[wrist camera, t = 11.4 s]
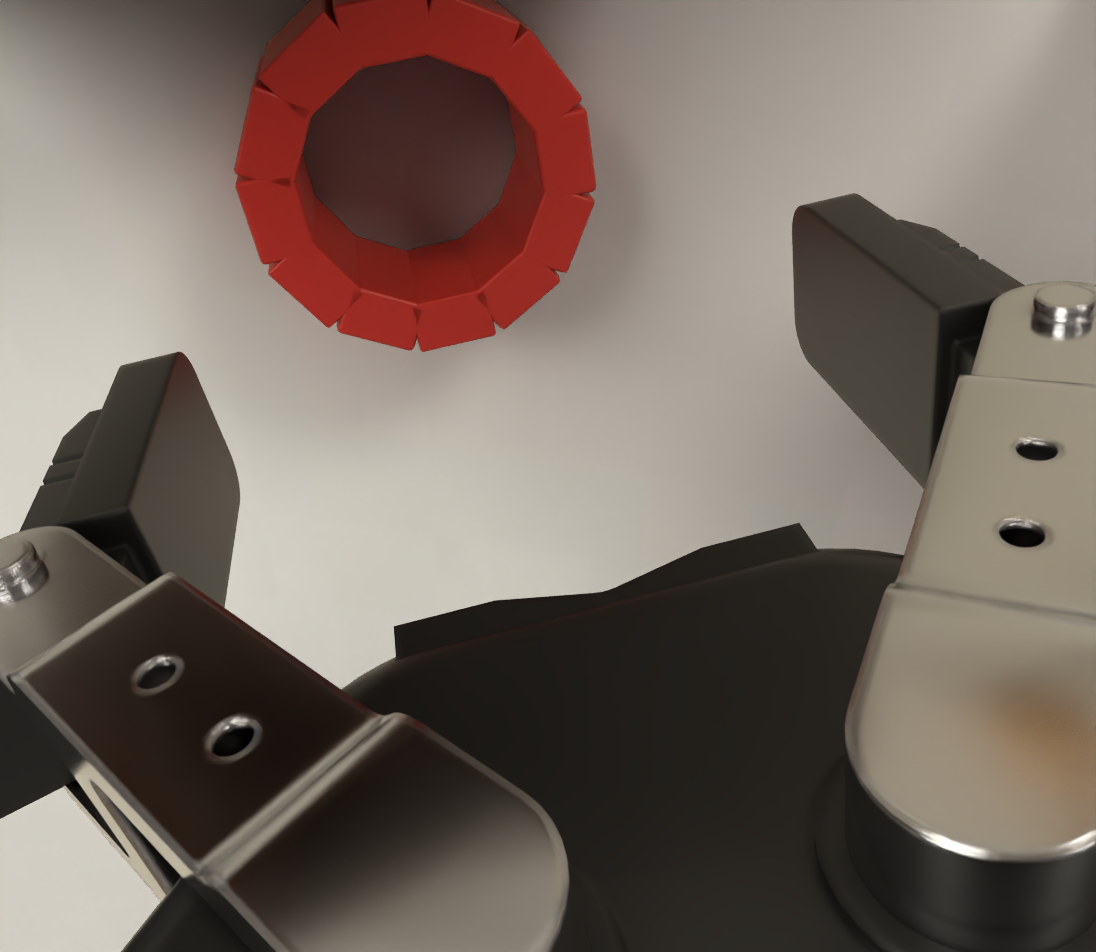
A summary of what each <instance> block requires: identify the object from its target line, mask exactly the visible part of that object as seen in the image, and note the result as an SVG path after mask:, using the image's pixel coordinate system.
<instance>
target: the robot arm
mask: <svg viewBox="0 0 1096 952" xmlns="http://www.w3.org/2000/svg"><path fill="white" fill-rule="evenodd" d="M792 243H793V276H794V308H795V325H796V331H797V336H798V340H799V343H800V346H801V349H802V351H803V353H804V355H805V357H806V359H807V361H808V362H809V363H810V364H811V366H812V367H813V368H814V369H815V370H816V371H817V372H818V373H819V374H820V375H821V377H822V378H823V379H824V380H825V381H826V382H827V383H828V384H829V385H830V386H831V387H832V389H833V390H834V391H835V392H836V393H837V394H838V395H839V396H840V397H841V398H842V400H843V401H844V402H845V403H846V404H847V405H848V406H849V407H850V408H851V409H852V410H853V412H854V413H855V414H856V415H857V416H858V417H859V418H860V419H861V420H862V421H863V423H864V424H865V425H866V426H867V427H868V428H869V429H870V430H871V431H872V432H873V433H874V435H875V436H876V437H877V438H878V439H879V440H880V441H881V442H882V443H883V444H884V445H885V447H886V448H887V449H888V450H889V451H890V452H891V453H892V454H893V455H894V456H895V458H896V459H897V460H898V461H899V462H900V463H901V464H902V465H903V466H904V467H905V468H906V470H907V471H908V472H909V473H910V474H911V475H912V476H913V477H914V478H915V479H916V481H917V482H918V483H919V484H920V485H921V486H922V487H923V488H924V492H923V495H922V499H921V502H920V505H919V508H918V512H917V515H916V518H915V522H914V525H913V528H912V531H911V535H910V538H909V541H908V545H907V548H906V551H905V554H904V555H899V554H893V553H887V552H881V551H872V550H861V549H817V548H816V547H815V545H814V544H813V542H812V541H811V540H810V538H809V537H808V535H807V534H806V532H805V531H804V529H803V528H802V526H801V525H800V523H797V524H793V525H789V526H785V527H782V528H778V529H774V530H770V531H766V532H762V533H758V534H754V535H750V536H746V537H742V538H738V539H735V540H731V541H727V542H723V543H719V544H715V545H711V546H707V547H703V548H700V549H698V550H696V551H694V552H692V553H689V554H687V555H685V556H683V557H681V558H679V559H676V560H674V561H672V562H670V563H668V564H666V565H663V566H661V567H659V568H657V569H655V570H653V571H650V572H648V573H646V574H644V575H642V576H640V577H637V578H635V579H633V580H631V581H629V582H627V583H624V584H622V585H620V586H618V587H616V588H613V589H611V590H608V591H604V592H598V593H589V594H576V595H563V596H549V597H536V598H523V599H510V600H497V601H492V602H488V603H484V604H480V605H476V606H472V607H468V608H464V609H460V610H456V611H453V612H449V613H445V614H441V615H437V616H433V617H429V618H425V619H421V620H417V621H413V622H409V623H406V624H402V625H398V626H394V635H395V649H396V657H395V658H393V659H391V660H389V661H387V662H385V663H383V664H381V665H379V666H377V667H375V668H374V669H372V670H370V671H368V672H367V673H365V674H363V675H361V676H360V677H358V678H357V679H356V680H354V681H353V682H351V683H350V684H348V685H347V686H345V687H344V688H343V689H339V688H338V687H337V686H335V685H334V684H332V683H331V682H329V681H328V680H327V679H325V678H324V677H322V676H321V675H319V674H318V673H317V672H315V671H314V670H312V669H311V668H309V667H308V666H307V665H305V664H304V663H302V662H301V661H299V660H298V659H297V658H295V657H294V656H292V655H291V654H289V653H288V652H287V651H285V650H284V649H282V648H281V647H279V646H278V645H277V644H275V643H274V642H272V641H271V640H269V639H268V638H267V637H265V636H264V635H262V634H261V633H259V632H258V631H257V630H255V629H254V628H252V627H251V626H249V625H248V624H247V623H245V622H244V621H242V620H241V619H239V618H238V617H237V616H235V615H234V614H232V613H231V612H229V611H228V610H226V609H225V608H224V607H225V600H226V593H227V586H228V579H229V573H230V566H231V559H232V552H233V545H234V539H235V532H236V525H237V518H238V511H239V505H240V488H239V482H238V477H237V472H236V469H235V465H234V462H233V459H232V456H231V454H230V451H229V449H228V447H227V445H226V442H225V440H224V438H223V435H222V433H221V431H220V428H219V426H218V424H217V421H216V419H215V417H214V414H213V412H212V410H211V407H210V405H209V403H208V400H207V398H206V396H205V393H204V391H203V389H202V386H201V384H200V382H199V379H198V377H197V375H196V372H195V370H194V368H193V366H192V364H191V363H190V361H189V360H188V358H187V357H186V356H185V355H184V354H183V353H182V352H176V353H172V354H168V355H164V356H159V357H155V358H151V359H147V360H142V361H138V362H134V363H130V364H126V365H122V366H121V367H120V368H119V370H118V372H117V374H116V377H115V379H114V382H113V384H112V386H111V389H110V391H109V394H108V396H107V398H106V401H105V403H104V406H103V408H102V409H100V410H96V411H92V412H89V413H88V414H87V415H86V416H85V417H84V418H83V419H82V420H81V421H80V422H79V423H77V424H76V425H75V426H74V427H73V428H72V429H71V430H70V431H69V432H68V433H67V434H66V435H65V436H64V437H63V438H62V441H61V443H60V445H59V447H58V449H57V451H56V454H55V456H54V458H53V460H52V462H53V465H52V466H50V467H49V469H48V471H47V473H46V475H45V477H44V480H43V482H44V485H43V486H40V488H39V490H38V493H37V495H36V497H35V499H34V501H33V503H32V506H31V508H30V510H29V512H28V514H27V516H26V519H25V521H24V523H23V525H22V527H21V529H20V532H18V533H15V534H12V535H9V536H7V537H4V538H2V539H0V819H1V818H3V817H5V816H7V815H9V814H11V813H12V812H14V811H16V810H18V809H20V808H22V807H24V806H26V805H28V804H30V803H32V802H34V801H36V800H38V799H40V798H42V797H44V796H46V795H48V794H50V793H52V792H54V791H56V790H58V789H60V788H62V787H64V789H65V790H66V791H67V793H68V794H69V796H70V797H71V798H72V799H73V801H74V802H75V803H76V804H77V805H78V806H79V807H80V809H81V810H82V811H83V812H84V813H85V814H86V815H87V817H88V818H89V819H90V820H91V821H92V822H93V824H94V825H95V826H96V827H97V828H98V829H99V830H100V832H101V833H102V834H103V835H104V836H105V837H106V838H107V840H108V841H109V842H110V843H111V844H112V845H113V847H114V848H115V849H116V850H117V851H118V852H119V853H120V855H121V856H122V857H123V858H124V859H125V860H126V861H127V863H128V864H129V865H130V866H131V867H132V868H133V870H134V871H135V872H136V873H137V874H138V875H139V876H140V878H141V879H142V880H143V881H144V882H145V883H146V885H147V886H148V887H149V888H150V889H151V891H152V892H153V893H154V894H155V895H156V897H157V898H158V899H159V900H160V904H159V905H158V906H157V907H156V909H155V910H154V911H153V912H152V914H151V915H150V916H149V917H148V919H147V920H146V921H145V922H144V924H143V925H142V926H141V927H140V929H139V930H138V931H137V933H136V934H135V935H134V936H133V938H132V939H131V940H130V941H129V943H128V944H127V945H126V946H125V948H124V949H123V950H122V951H121V952H1096V285H1093V284H1087V283H1079V282H1043V283H1036V284H1030V285H1026V286H1025V285H1023V284H1021V283H1020V282H1018V281H1017V280H1015V279H1014V278H1012V277H1011V276H1009V275H1007V274H1006V273H1004V272H1003V271H1001V270H1000V269H998V268H996V267H995V266H993V265H992V264H990V263H989V262H987V261H986V260H984V259H981V260H979V258H978V255H976V254H975V253H973V252H971V251H970V250H968V249H967V248H965V247H961V248H960V246H959V243H957V242H956V241H954V240H953V239H951V238H950V237H948V236H946V235H945V234H943V233H942V232H940V231H939V230H937V229H935V228H931V227H927V226H923V225H919V224H916V223H912V222H908V221H904V220H896V219H894V218H893V217H891V216H890V215H888V214H887V213H885V212H884V211H882V210H881V209H879V208H878V207H876V206H875V205H873V204H872V203H870V202H869V201H867V200H866V199H864V198H863V197H861V196H860V195H858V194H855V193H853V194H849V195H844V196H840V197H836V198H832V199H827V200H823V201H819V202H815V203H811V204H806V205H802V206H799V207H798V208H797V209H796V211H795V213H794V217H793V224H792Z"/></svg>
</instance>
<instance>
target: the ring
mask: <svg viewBox="0 0 1096 952" xmlns="http://www.w3.org/2000/svg"><path fill="white" fill-rule="evenodd" d="M425 55H428V56H431V57H434V58H436V59H439V60H442V61H445V62H447V63H450V64H453V65H456V66H458V67H461V68H464V69H466V70H469V71H472V72H475V73H477V74H480V75H483V76H486V77H488V78H491V79H492V81H493V82H494V83H495V84H496V85H497V87H498V88H499V89H500V90H501V92H502V93H503V94H504V95H505V97H506V98H507V100H508V106H509V112H510V118H511V123H512V129H513V135H514V141H515V147H516V155H515V158H514V161H513V164H512V166H511V169H510V172H509V175H508V178H507V181H506V184H505V187H504V190H503V192H502V195H501V198H500V201H499V204H498V205H497V206H496V207H495V208H493V209H492V210H491V211H490V212H489V213H488V214H487V215H486V216H484V217H483V218H482V219H481V220H480V221H479V222H478V223H477V224H476V225H474V226H473V227H472V228H471V229H470V230H469V231H468V232H467V233H465V234H464V235H463V236H462V237H461V238H460V239H456V240H452V241H447V242H443V243H438V244H434V245H429V246H425V247H420V248H416V249H411V250H407V251H405V250H402V249H398V248H395V247H391V246H388V245H385V244H381V243H378V242H374V241H371V240H367V239H364V238H361V237H357V236H355V235H354V234H353V233H352V232H351V231H350V230H349V229H348V228H347V227H346V226H345V225H344V224H343V223H342V222H341V221H340V220H339V219H338V218H337V217H336V216H335V215H334V214H333V213H332V212H331V211H330V210H329V209H328V208H327V207H326V206H325V205H324V204H323V203H322V202H321V201H320V200H319V199H318V198H317V197H316V196H315V195H314V191H313V188H312V184H311V181H310V178H309V174H308V171H307V168H306V164H305V161H304V157H303V154H302V152H303V148H304V144H305V140H306V136H307V132H308V128H309V124H310V120H311V116H312V115H313V114H314V113H316V112H317V111H318V110H319V109H320V108H321V107H322V106H323V105H324V104H325V103H326V102H327V101H328V100H329V99H330V98H331V97H332V96H333V95H334V94H335V93H336V92H337V91H338V90H339V89H340V88H341V87H342V86H343V85H344V84H345V83H346V82H347V81H348V80H349V79H350V78H351V77H353V76H354V75H355V74H356V73H357V72H358V71H359V70H360V69H362V68H367V67H372V66H377V65H382V64H386V63H391V62H396V61H401V60H406V59H410V58H415V57H420V56H425ZM581 99H582V98H581V95H580V94H579V93H578V91H577V90H576V89H575V88H574V86H573V85H572V84H571V82H570V81H569V80H568V78H567V77H566V76H565V74H564V73H563V72H562V70H561V69H560V68H559V66H558V65H557V64H556V63H555V61H554V60H553V59H552V57H551V56H550V55H549V53H548V52H547V51H546V49H545V48H544V47H543V45H542V44H541V43H540V41H539V40H538V39H537V37H536V36H535V35H534V34H533V32H532V31H531V30H530V29H529V28H528V27H527V26H525V25H524V24H523V23H522V22H521V21H520V20H518V19H517V18H516V17H515V16H514V15H513V14H512V13H510V12H509V11H508V10H507V9H506V8H505V7H503V6H500V5H499V4H498V3H497V2H496V1H495V0H310V1H309V2H308V3H307V4H306V5H305V6H304V7H303V8H302V9H301V10H300V11H299V12H298V13H297V14H296V15H295V16H294V17H293V18H292V19H291V20H290V21H289V22H288V23H287V24H286V25H285V26H284V27H283V28H282V29H281V30H280V31H279V32H278V33H277V34H276V35H275V36H274V38H273V39H272V40H271V41H270V42H269V43H268V44H267V45H266V49H265V53H264V55H262V56H261V57H260V60H259V63H258V67H257V71H256V74H255V78H254V82H253V85H252V89H251V93H250V98H249V103H248V107H247V112H246V117H245V121H244V126H243V131H242V135H241V140H240V145H239V150H238V154H237V159H236V164H235V168H234V171H235V173H236V174H237V175H238V177H237V181H236V190H237V193H238V196H239V199H240V202H241V205H242V208H243V211H244V213H245V216H246V219H247V222H248V225H249V228H250V231H251V234H252V237H253V240H254V243H255V246H256V249H257V252H258V254H259V257H260V260H261V262H262V263H263V264H269V271H268V274H269V275H270V276H271V277H272V278H273V279H274V280H275V281H276V282H278V283H279V284H280V285H281V286H282V287H283V288H284V289H285V290H286V291H287V292H289V293H290V294H291V295H292V296H293V297H294V298H295V299H296V300H297V301H299V302H300V303H301V304H302V305H303V306H304V307H305V308H306V309H307V310H308V311H310V312H311V313H312V314H313V315H314V316H315V317H316V318H317V319H318V320H320V321H321V322H322V323H323V324H324V325H325V326H326V327H328V328H329V327H331V326H332V325H333V324H334V323H335V322H337V329H338V331H339V332H340V333H343V334H347V335H351V336H355V337H359V338H362V339H366V340H370V341H374V342H378V343H382V344H386V345H390V346H394V347H398V348H402V349H406V350H412V349H413V348H414V346H415V343H416V340H417V339H418V343H419V347H420V350H421V351H422V352H425V351H429V350H433V349H438V348H442V347H446V346H450V345H455V344H459V343H463V342H468V341H472V340H476V339H481V338H485V337H489V336H494V335H495V333H496V331H495V326H494V322H495V323H496V324H497V325H498V326H499V327H500V328H502V329H505V328H507V327H508V326H509V325H510V324H512V323H513V322H514V321H515V320H516V319H517V318H519V317H520V316H521V315H522V314H523V313H524V312H526V311H527V310H528V309H529V308H530V307H531V306H533V305H534V304H535V303H536V302H537V301H538V300H540V299H541V298H542V297H543V296H544V295H545V294H547V293H548V292H549V291H550V290H551V289H552V288H554V287H555V286H556V285H557V284H558V283H559V282H560V278H559V276H558V274H557V272H556V271H559V272H567V271H568V269H569V266H570V264H571V261H572V259H573V256H574V254H575V251H576V249H577V246H578V244H579V241H580V238H581V236H582V233H583V231H584V228H585V226H586V223H587V221H588V218H589V216H590V213H591V210H592V208H593V205H594V199H593V198H592V197H591V195H590V194H589V192H592V191H594V190H595V189H596V180H595V172H594V165H593V157H592V149H591V141H590V134H589V126H588V118H587V112H586V110H585V108H583V107H582V106H581V105H580V104H579V102H580V101H581ZM555 270H556V271H555ZM493 321H494V322H493Z"/></svg>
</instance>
